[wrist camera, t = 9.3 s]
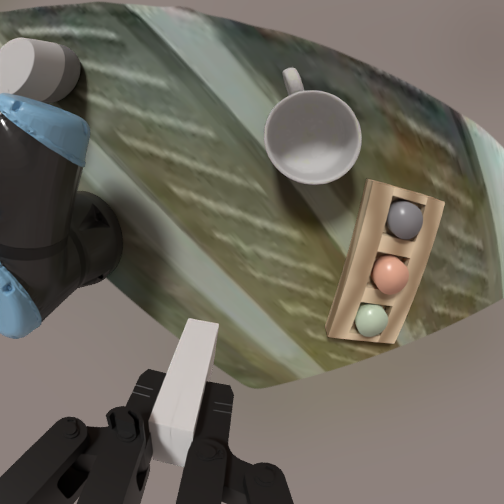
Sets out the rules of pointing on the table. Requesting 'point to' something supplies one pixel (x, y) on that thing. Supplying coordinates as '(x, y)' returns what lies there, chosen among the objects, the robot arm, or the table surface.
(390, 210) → the charcoal button
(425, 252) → the button panel
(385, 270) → the terracotta button
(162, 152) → the table surface
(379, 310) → the sage button
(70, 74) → the smart speaker
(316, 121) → the teacup
